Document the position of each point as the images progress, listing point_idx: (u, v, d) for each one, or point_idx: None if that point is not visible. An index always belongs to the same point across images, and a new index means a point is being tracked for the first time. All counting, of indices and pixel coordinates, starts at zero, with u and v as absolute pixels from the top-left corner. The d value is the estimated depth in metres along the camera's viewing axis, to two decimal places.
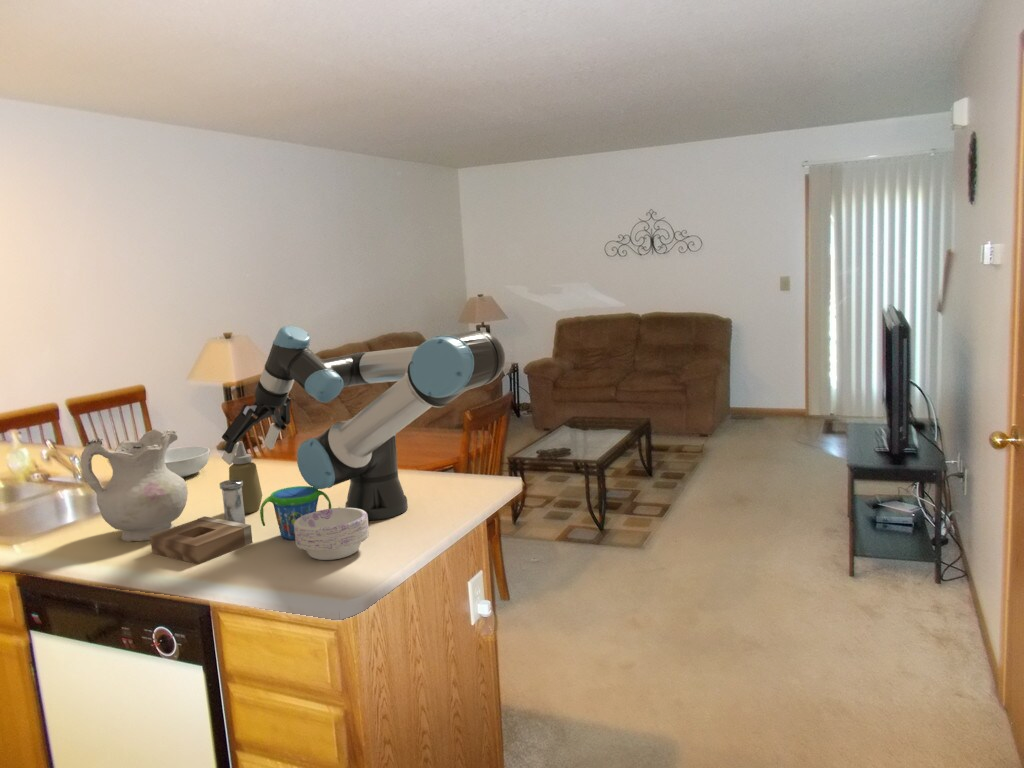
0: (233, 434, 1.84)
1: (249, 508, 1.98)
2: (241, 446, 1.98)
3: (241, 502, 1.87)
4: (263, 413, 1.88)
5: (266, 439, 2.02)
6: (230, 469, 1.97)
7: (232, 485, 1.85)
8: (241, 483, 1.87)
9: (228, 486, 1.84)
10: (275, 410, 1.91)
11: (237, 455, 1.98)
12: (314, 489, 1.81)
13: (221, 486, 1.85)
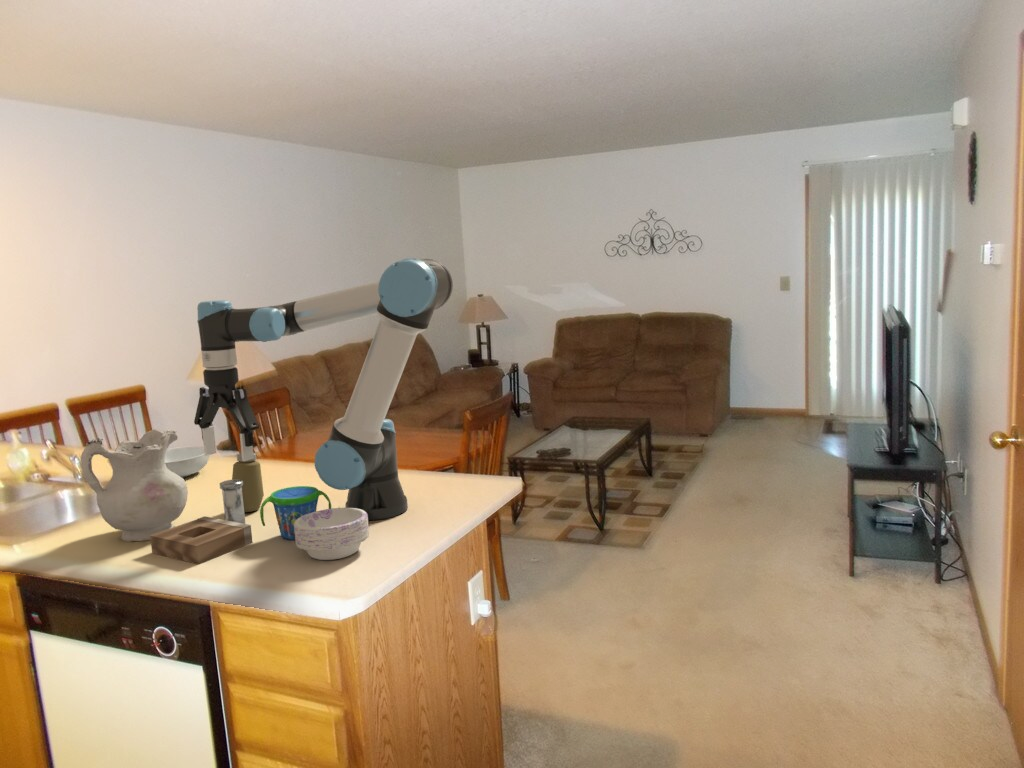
0: (254, 418, 1.81)
1: (250, 507, 1.98)
2: None
3: (241, 502, 1.87)
4: None
5: (207, 448, 1.89)
6: (234, 466, 1.98)
7: (232, 485, 1.85)
8: (241, 483, 1.87)
9: (228, 486, 1.84)
10: None
11: None
12: (314, 489, 1.81)
13: (221, 486, 1.85)
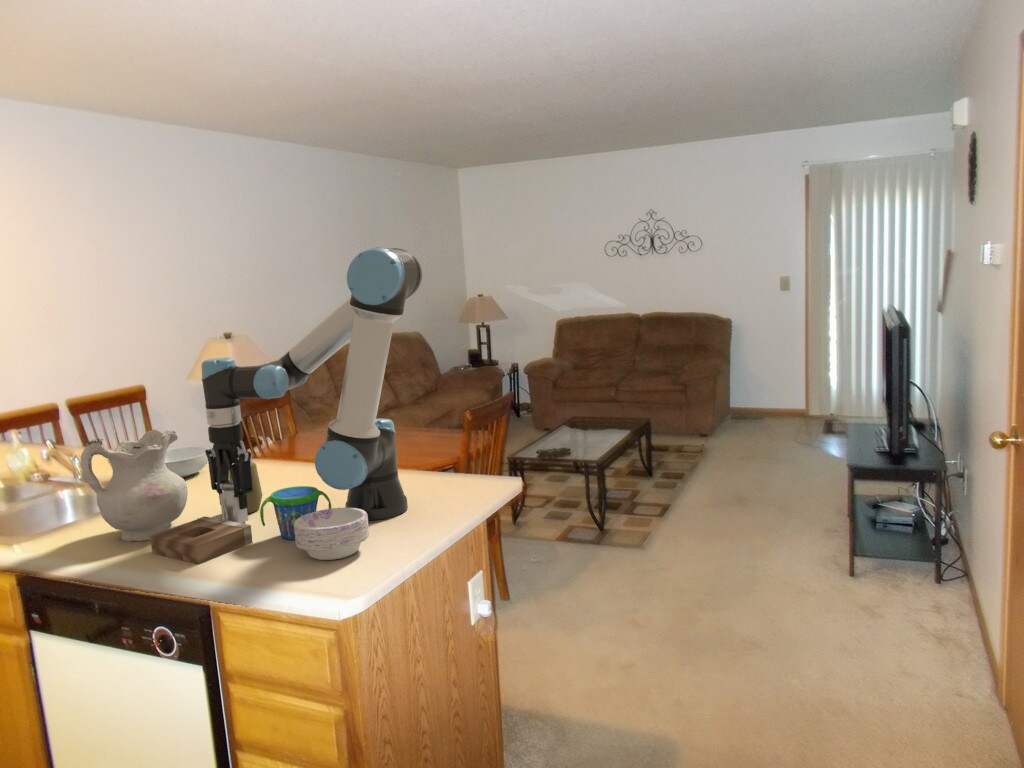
0: (250, 482, 1.84)
1: (249, 508, 1.98)
2: (241, 446, 1.98)
3: None
4: None
5: None
6: None
7: (232, 485, 1.85)
8: None
9: (228, 486, 1.84)
10: None
11: None
12: (314, 489, 1.81)
13: (221, 486, 1.85)
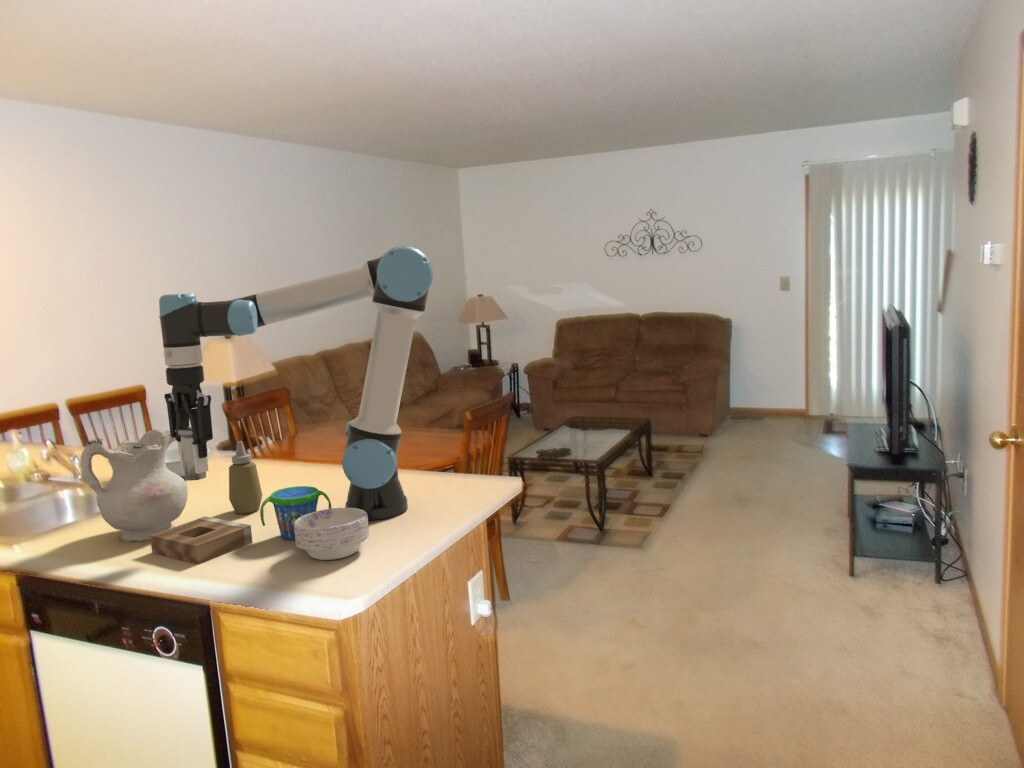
0: (210, 428, 1.70)
1: (250, 508, 1.98)
2: (241, 446, 1.98)
3: None
4: None
5: None
6: (230, 469, 1.97)
7: (191, 431, 1.71)
8: None
9: (186, 432, 1.70)
10: None
11: (237, 455, 1.98)
12: (314, 489, 1.81)
13: (179, 432, 1.71)
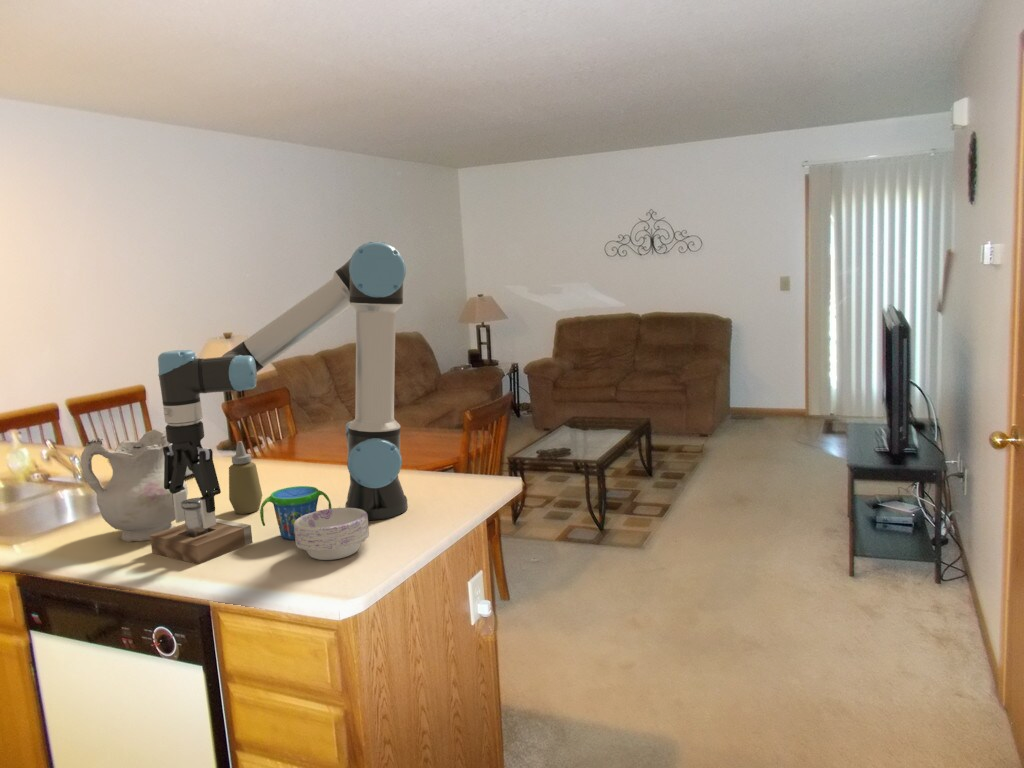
0: (217, 482, 1.69)
1: (250, 508, 1.98)
2: (241, 446, 1.98)
3: None
4: None
5: (178, 514, 1.75)
6: (230, 469, 1.97)
7: (194, 504, 1.70)
8: None
9: (190, 505, 1.70)
10: None
11: (237, 455, 1.98)
12: (314, 489, 1.81)
13: (182, 505, 1.71)
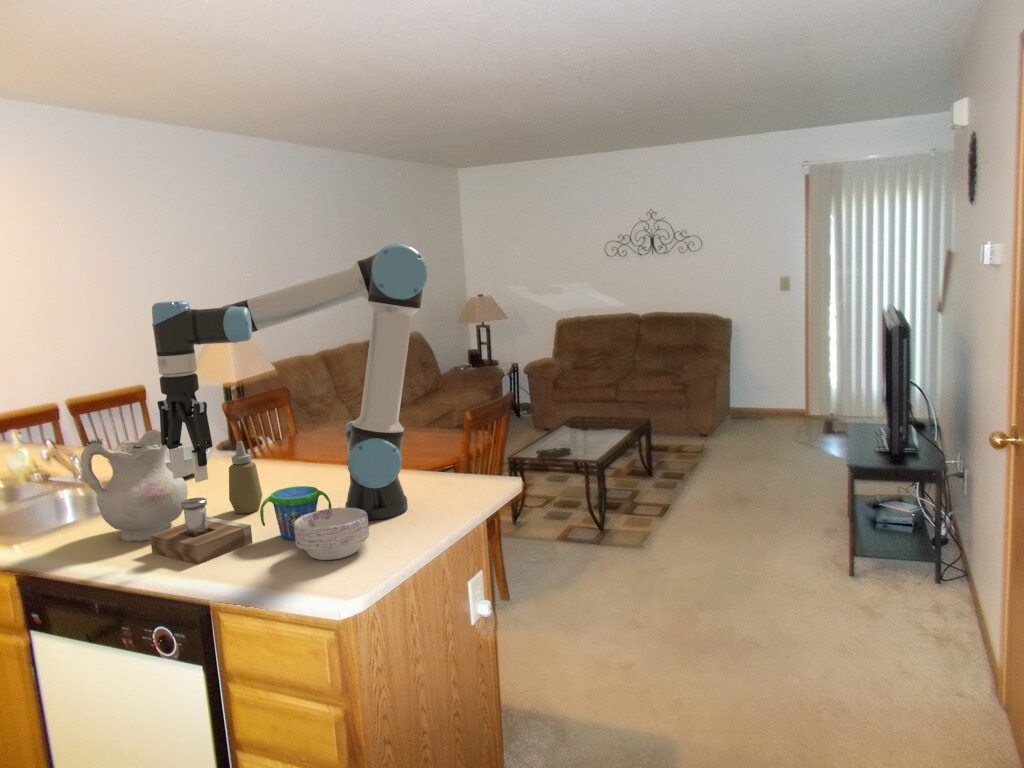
0: (209, 435, 1.67)
1: (250, 508, 1.98)
2: (241, 446, 1.98)
3: (205, 522, 1.73)
4: None
5: (176, 470, 1.73)
6: (230, 469, 1.97)
7: (194, 504, 1.70)
8: (205, 502, 1.72)
9: (190, 505, 1.70)
10: None
11: (237, 455, 1.98)
12: (314, 489, 1.81)
13: (183, 505, 1.71)
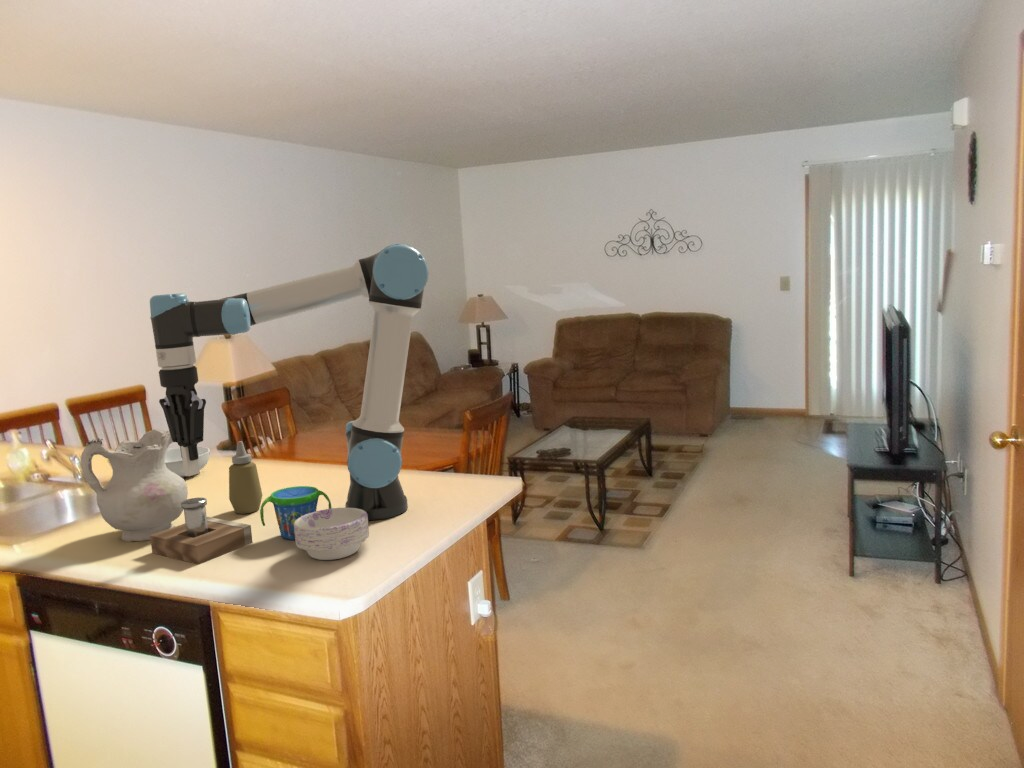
0: (202, 431, 1.69)
1: (250, 508, 1.98)
2: (241, 446, 1.98)
3: (205, 522, 1.73)
4: None
5: None
6: (230, 469, 1.97)
7: (194, 504, 1.70)
8: (204, 502, 1.72)
9: (190, 505, 1.70)
10: None
11: (237, 455, 1.98)
12: (314, 489, 1.81)
13: (182, 505, 1.71)
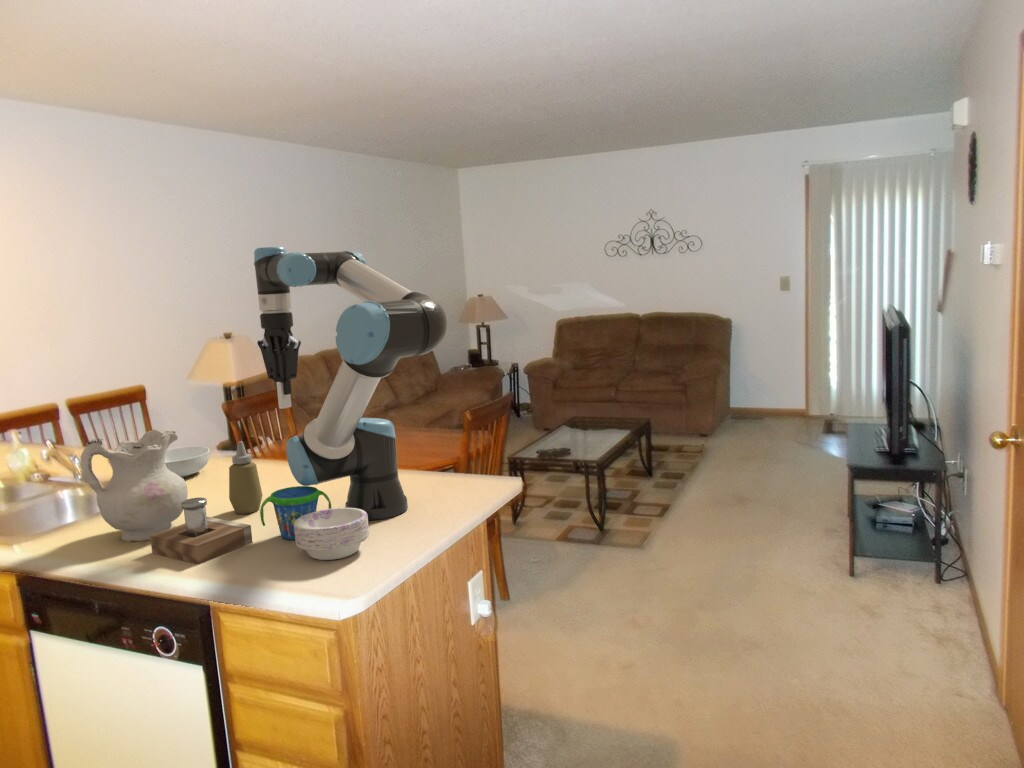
0: (296, 368, 1.92)
1: (250, 508, 1.98)
2: (241, 446, 1.98)
3: (205, 522, 1.73)
4: None
5: None
6: (230, 469, 1.97)
7: (194, 504, 1.70)
8: (205, 502, 1.72)
9: (190, 505, 1.70)
10: None
11: (237, 455, 1.98)
12: (314, 489, 1.81)
13: (182, 505, 1.71)
